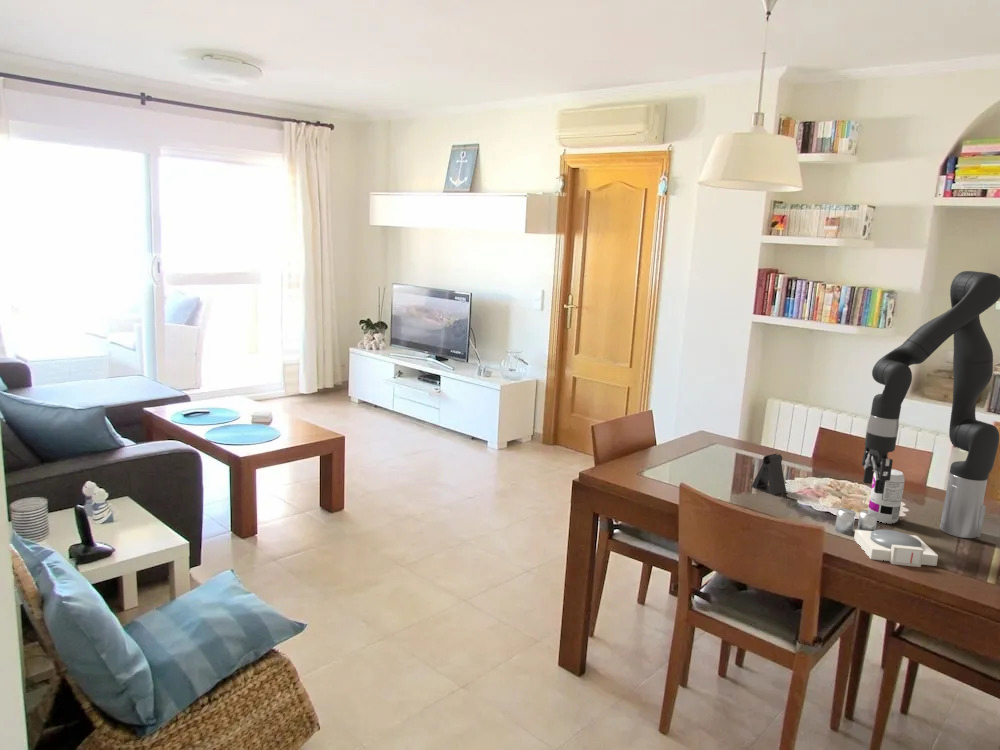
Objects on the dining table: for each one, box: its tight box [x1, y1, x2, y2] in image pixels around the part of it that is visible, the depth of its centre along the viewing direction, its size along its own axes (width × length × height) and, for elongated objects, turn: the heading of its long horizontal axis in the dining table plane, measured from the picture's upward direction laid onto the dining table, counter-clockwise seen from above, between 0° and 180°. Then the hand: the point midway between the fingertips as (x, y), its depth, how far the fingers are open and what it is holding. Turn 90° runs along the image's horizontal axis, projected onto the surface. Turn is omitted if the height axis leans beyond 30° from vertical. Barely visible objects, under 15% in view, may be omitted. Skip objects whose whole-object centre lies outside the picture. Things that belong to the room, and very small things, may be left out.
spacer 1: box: [834, 507, 857, 535], centre depth 206 cm, size 5×5×6 cm
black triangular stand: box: [751, 453, 787, 496], centre depth 237 cm, size 9×6×12 cm, turn 34°
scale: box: [853, 529, 939, 568], centre depth 192 cm, size 16×15×5 cm
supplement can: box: [867, 468, 906, 525], centre depth 216 cm, size 8×8×15 cm
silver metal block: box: [856, 509, 878, 531], centre depth 205 cm, size 5×5×6 cm
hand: (872, 488), depth 203 cm, fingers open, 8 cm apart
